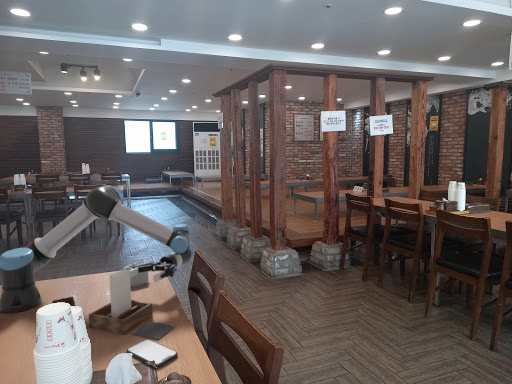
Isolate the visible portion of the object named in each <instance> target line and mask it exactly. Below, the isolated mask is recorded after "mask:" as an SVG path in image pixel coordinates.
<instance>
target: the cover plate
mask: <svg viewBox="0 0 512 384" xmlns="http://www.w3.org/2000/svg"><path fill="white" fill-rule="evenodd" d="M131 287H132V286H130V270H126V269H124V268H123V270H120V271H118V272H116V273H114V274H111V275H110V276H109V289H110V290H109V292H110V303H111V314H112V317H113V318H116V317H117V316H119V315H121V314H122V313H124V312H126V311H127V310H129V309H131V300H132V294H131V293H132V292H131V291H132V289H131Z"/></svg>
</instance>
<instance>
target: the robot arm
mask: <svg viewBox="0 0 512 384" xmlns="http://www.w3.org/2000/svg"><path fill="white" fill-rule="evenodd" d="M102 218H104V219H105V220H108V221H111V220H113V221H115V222H117V223H120V224H122V225H123V226H126V227H127V228H130V229H132V230H134V231H136V232H138V233H140V234H142V235H144V236H146V237H148V238H149V239H152V240H153V241H156V242H158V243H160V244H162V245H164V246H166V247H168V248H170V249H171V250H172V252H170V253H168V254H167V255H164V256H162V257H161V258H160V259H159V261H157V262H154V261H149V262H146V263H145V262H144V263H143V264H141V263H140V264H141V265H140V264H139V265H136V266H133V269H132V270H130V278H131V277H133V276H135V275H137V274H138V273H140V272H146V271H148V272H158V273H157V274H155V275H153V282H154V283H157V282H159V281H161V280H163V279H165V278H169V277H170V278H173V277H174V275H175V273H176V271H178V268H180V267H181V266H183V265H185V264H188V263H189V262H190V261H191V260H192V259H193V258H194V256H195V255H194V251H193V249H192V248H191V247H190V228H189V227H190V226H189V225H188V224H185V223H183V224H182V223H181V224H174V225H173V227H172V228H171V227H168V226H167V225H164V224H162V223H160V222H158V221H156V220H154V219H152V218H150V217H149V216H146V215H145V214H143V213H140V212H139V211H136V210H134V209H133V208H131V207H129V206H127V205H125V204H123V203H122V200H121V194H120V192H119V190H118V189H117V188H116V187H115V186H114V185H108V184H102V185H100V186H99V187H95V188H92V189H90V191H89V192H88V193H87V194H86V197H85V198H83V199H82V205H80V206H79V207H78V208H76V209H75V210H74V211H73V212H72V213H70V214H69V215H68V216H67V217H66V218H65V219H63V220H62V221H60V223H58V224H57V225H56V226H55V227H53V228H52V229H51V230H50V231H49V232H48V233H46V234H45V235H44V236H43V237H36V238H35V239H33V240H32V241H31V242H30V243H29V244H28V245H26V246H24V247H19V248H17V247H16V248H13V249H11V250H10V249H9V250H7V251H5V252H3V253H2V254H1V255H0V280H1V281H0V282H1V293H0V313H4V314H6V313H7V314H12V313H20V312H24V311H27V310H31V309H33V308H36V307H38V306H39V305H40V304H42V296H41V294H40V291H39V289H38V288H37V287H38V286H36V280H35V279H36V276H35V273H37V272H38V271H39V270H41V269H43V268H44V267H45V266H47V265H48V263H49V262H51V260H53V259H55V257H56V255H57V251H58V250H60V249H61V248H62V247H63V246H64V245H66V243H67V244H68V242H69V241H71V240H72V239H73V238H74V237H75V236H76V235H78V234H79V233H81V231H83V230H84V229H85V228H86V227H87V226H88V225H90V224H91V223H92V222H94V221H95V220H96V219H102Z"/></svg>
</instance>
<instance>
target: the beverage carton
mask: <svg viewBox="0 0 512 384" xmlns="http://www.w3.org/2000/svg"><path fill="white" fill-rule="evenodd" d="M57 302H65V303H69V304H70V305H71V306H75V307H76V303H75V298H74V296H69V297H63V298H60V299H53V300H52V303H57ZM52 303H51V304H52Z"/></svg>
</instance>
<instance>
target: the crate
mask: <svg viewBox="0 0 512 384" xmlns="http://www.w3.org/2000/svg"><path fill="white" fill-rule="evenodd" d="M153 312H154V311H153V303H151V302H146V301H141V300H135V299H131V309H129V310H127V311H126V312H124V313H122V314H121V315H119V316H117V317H116V318H113V317H112V314H111V302H109V303H107V304H105V305H104V306H102V307H100V308H97V309H96V310H93V312H90V313H89V314H88V322H89V323H88V327H89V328H90V329H95V330H100V331H104V332H110V333H114V334H120V335H124V336H125V335H126V334H128V333H129V332H131V331H132V330H134V329H135V328H137V327H138V326H139V325H141V324H143V323H144V322H145V321H147V320H149V319H150V318H152V317H154V313H153Z"/></svg>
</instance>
